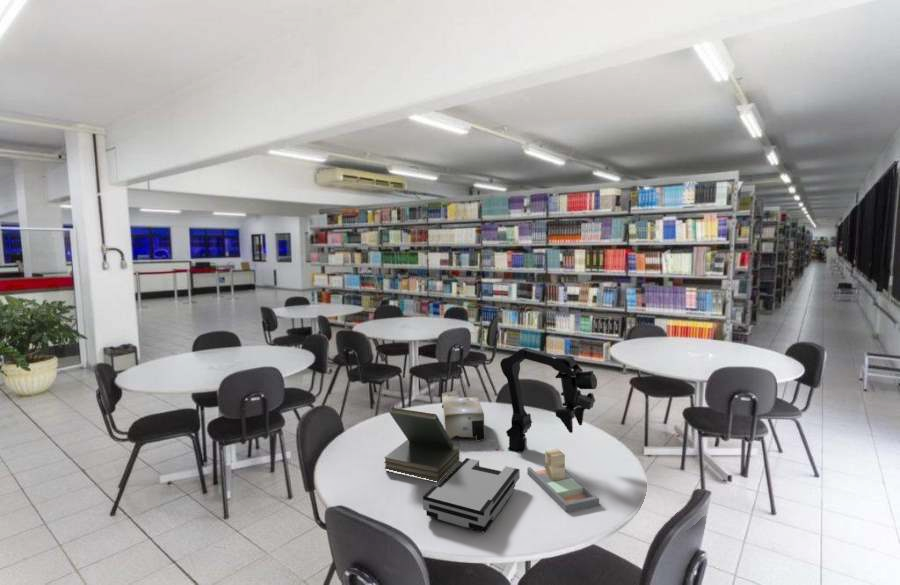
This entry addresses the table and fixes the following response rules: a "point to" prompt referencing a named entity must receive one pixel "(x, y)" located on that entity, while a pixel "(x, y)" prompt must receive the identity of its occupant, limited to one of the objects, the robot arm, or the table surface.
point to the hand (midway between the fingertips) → (576, 428)
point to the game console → (471, 495)
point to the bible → (422, 446)
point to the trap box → (565, 491)
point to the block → (555, 464)
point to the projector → (463, 416)
